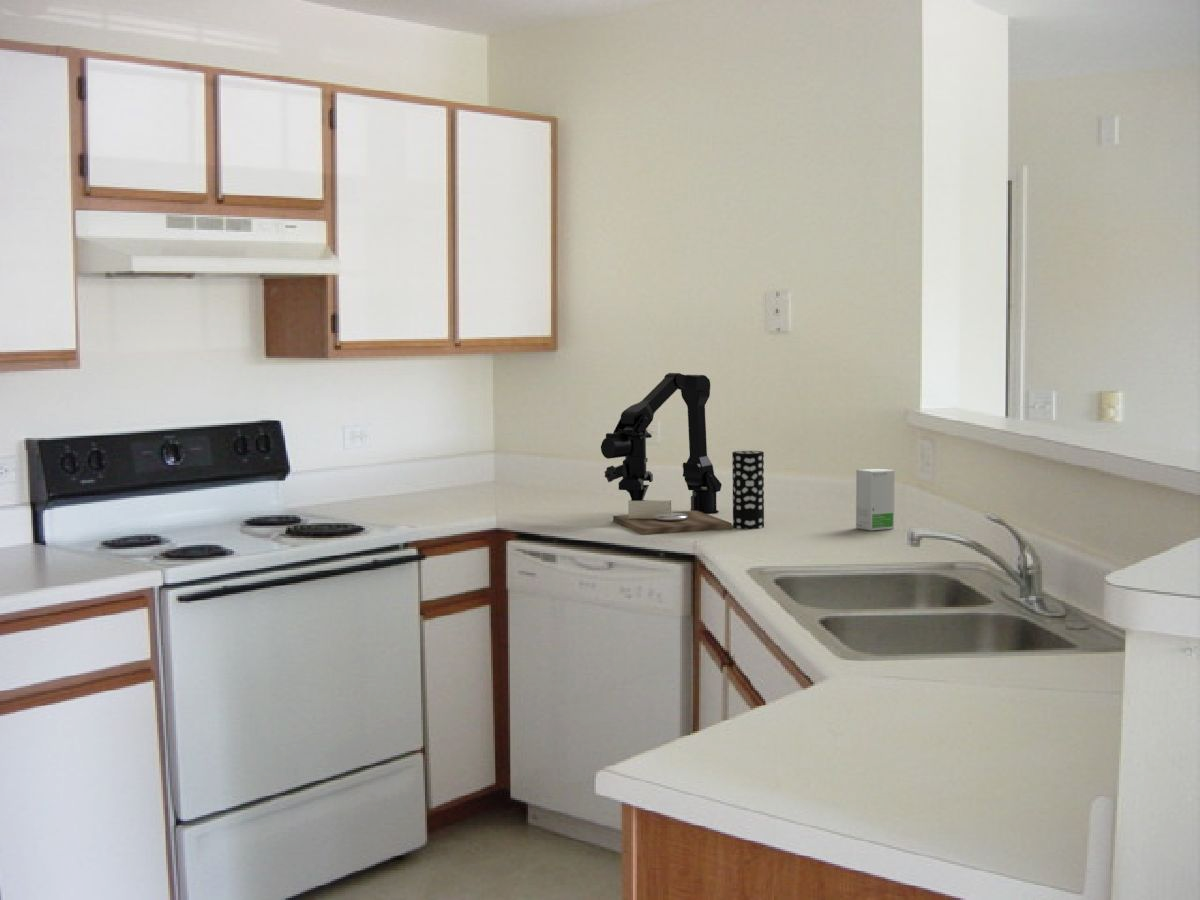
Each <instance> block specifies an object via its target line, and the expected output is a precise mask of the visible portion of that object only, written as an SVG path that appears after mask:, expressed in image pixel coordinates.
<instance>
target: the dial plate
mask: <svg viewBox="0 0 1200 900" xmlns="http://www.w3.org/2000/svg"><path fill="white" fill-rule="evenodd" d="M671 513H682V514H687V515H688V518H687V519H685V520H678V521H662V520H656V519H641V518H629V514H623V515H622V514H621V515H612V521H613V522H614V523H616V524H619V525H621V526H622V527H625V528H627V529H629V530H631V531H633V532H636V533H637V534H638V533H639V534H640V535H642V536H643V535H659V534H671V533H672V534H673V533H688V532H703V531H716V530H729V529H730V530H732V529H733V528H732V527H733V522H730V521H727V520H724V519H721V518H718V517H716V516H714V515H712V514H711V515H710V514H709V513H702V512H700V511H690V510H686V511H683V510H682V511H671Z"/></svg>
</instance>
